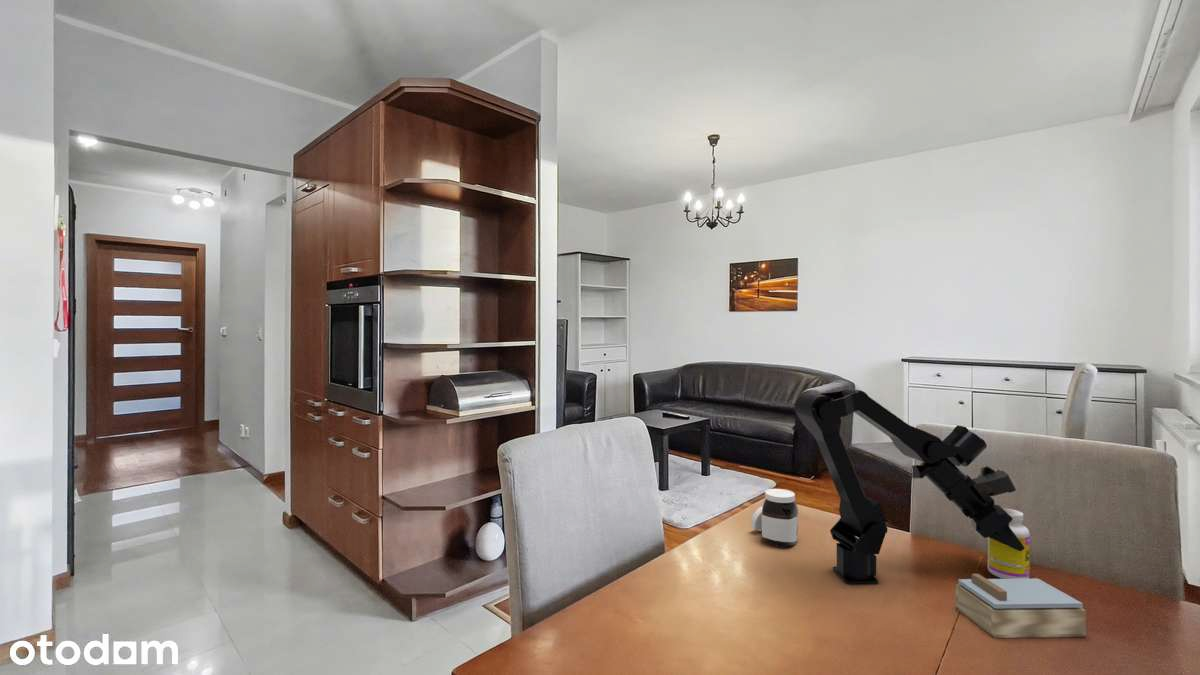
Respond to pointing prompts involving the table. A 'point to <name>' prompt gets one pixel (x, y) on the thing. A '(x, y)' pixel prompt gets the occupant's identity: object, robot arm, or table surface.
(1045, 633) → the wooden box
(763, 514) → the spread jar
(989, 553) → the supplement bottle
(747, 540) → the table surface
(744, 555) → the table surface
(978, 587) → the lid
